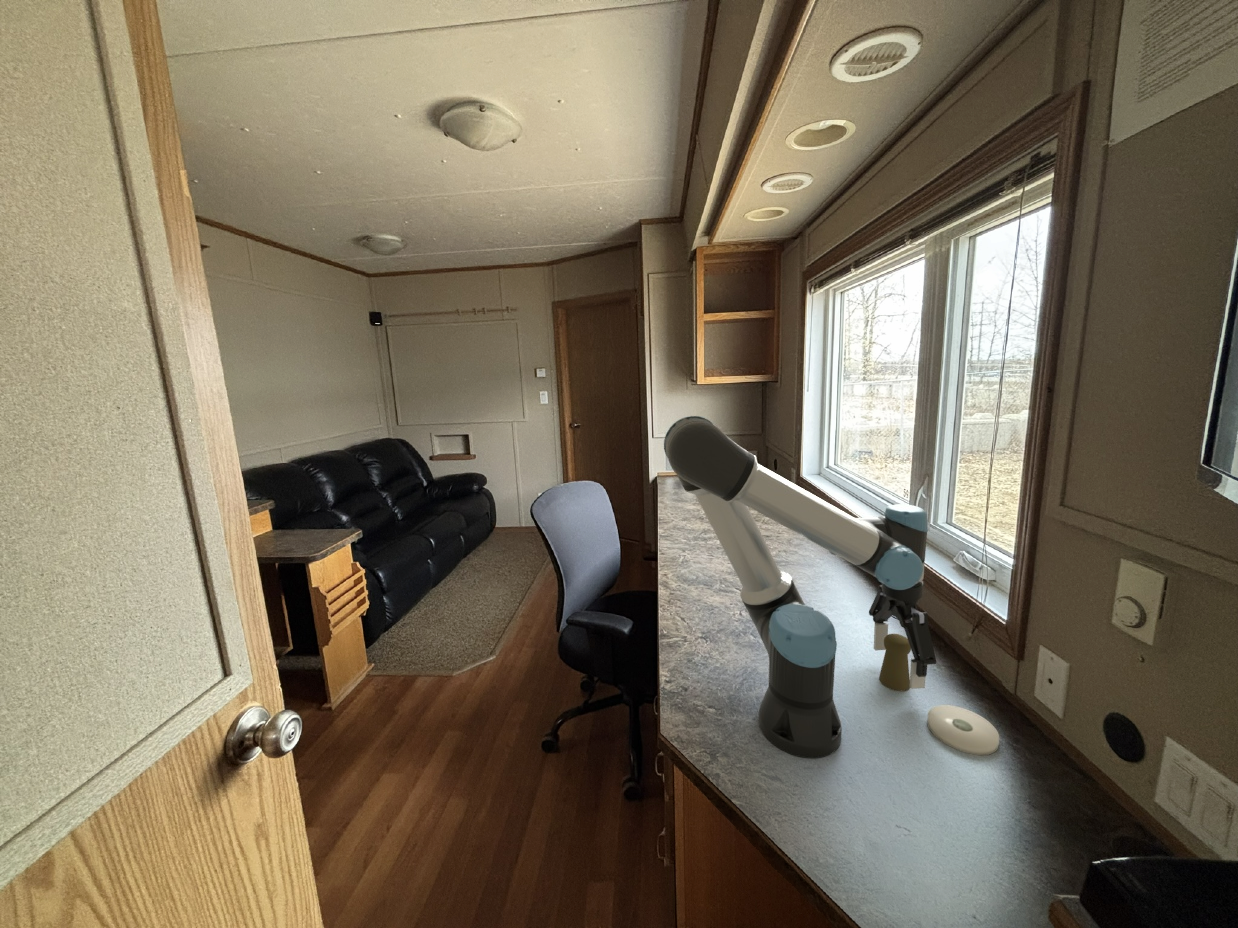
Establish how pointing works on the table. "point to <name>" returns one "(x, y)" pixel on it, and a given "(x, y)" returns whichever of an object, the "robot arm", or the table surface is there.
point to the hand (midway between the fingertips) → (897, 667)
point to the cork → (895, 663)
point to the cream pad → (963, 730)
